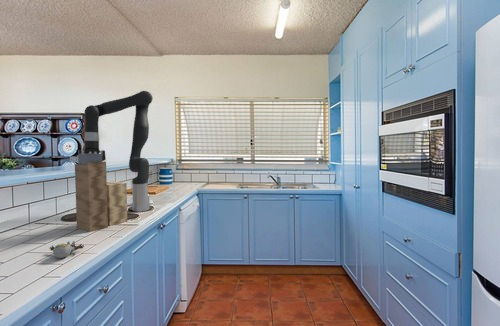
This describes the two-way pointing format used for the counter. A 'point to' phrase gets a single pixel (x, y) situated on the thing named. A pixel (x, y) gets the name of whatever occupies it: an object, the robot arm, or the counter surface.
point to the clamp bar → (86, 158)
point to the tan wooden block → (116, 203)
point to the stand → (91, 196)
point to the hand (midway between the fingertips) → (92, 168)
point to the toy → (65, 249)
